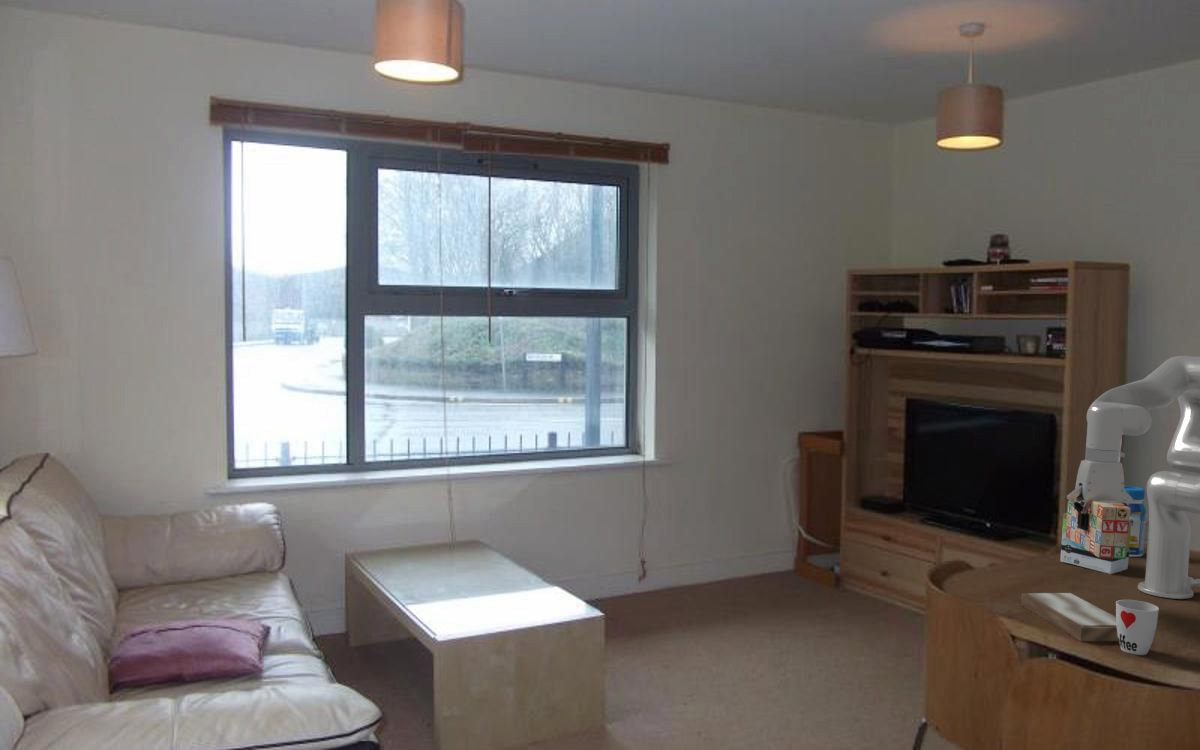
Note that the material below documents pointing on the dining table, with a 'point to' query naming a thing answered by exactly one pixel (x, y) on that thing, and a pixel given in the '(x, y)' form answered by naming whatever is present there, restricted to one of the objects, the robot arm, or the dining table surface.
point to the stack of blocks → (1101, 529)
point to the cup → (1136, 625)
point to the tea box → (1090, 555)
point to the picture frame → (1073, 615)
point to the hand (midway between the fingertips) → (1097, 528)
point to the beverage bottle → (1136, 520)
